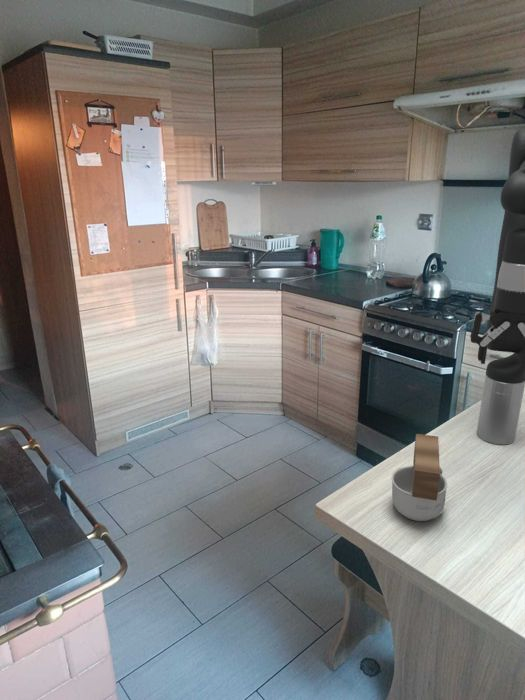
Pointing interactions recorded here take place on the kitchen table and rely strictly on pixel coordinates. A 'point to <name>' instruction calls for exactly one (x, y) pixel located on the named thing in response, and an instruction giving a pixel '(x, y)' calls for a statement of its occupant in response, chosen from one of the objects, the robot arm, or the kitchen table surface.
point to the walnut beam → (426, 467)
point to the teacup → (413, 505)
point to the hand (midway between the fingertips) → (505, 365)
